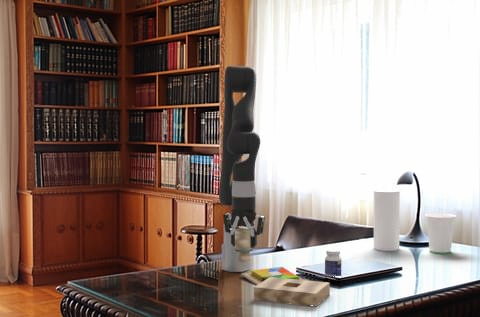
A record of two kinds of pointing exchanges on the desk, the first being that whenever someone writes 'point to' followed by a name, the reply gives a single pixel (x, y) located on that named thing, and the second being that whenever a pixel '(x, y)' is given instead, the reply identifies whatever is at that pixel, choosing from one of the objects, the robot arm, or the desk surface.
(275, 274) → the wooden puzzle
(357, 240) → the desk surface
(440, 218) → the cup
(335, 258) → the pill bottle
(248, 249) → the maple peg
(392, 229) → the tall pillar cylinder
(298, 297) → the oak board
